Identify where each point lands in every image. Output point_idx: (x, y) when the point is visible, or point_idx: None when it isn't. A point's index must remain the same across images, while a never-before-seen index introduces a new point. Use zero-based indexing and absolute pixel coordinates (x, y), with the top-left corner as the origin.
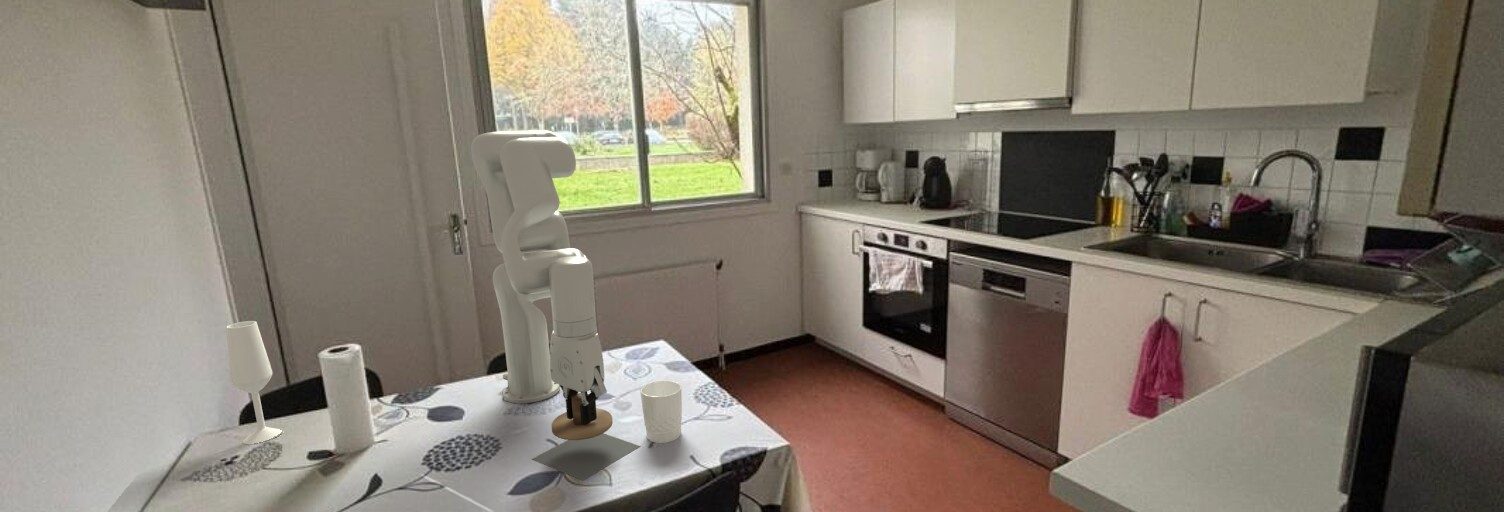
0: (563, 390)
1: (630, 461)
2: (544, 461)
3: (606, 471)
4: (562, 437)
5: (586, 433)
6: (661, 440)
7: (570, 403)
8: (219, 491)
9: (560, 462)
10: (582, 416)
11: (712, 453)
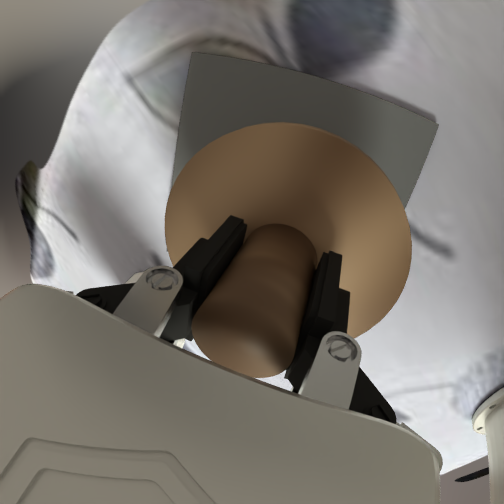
0: (350, 378)
1: (150, 186)
2: (388, 113)
3: (172, 123)
4: (294, 123)
5: (198, 170)
6: (137, 275)
7: (309, 307)
8: None
9: (330, 117)
10: (216, 233)
11: (60, 251)
